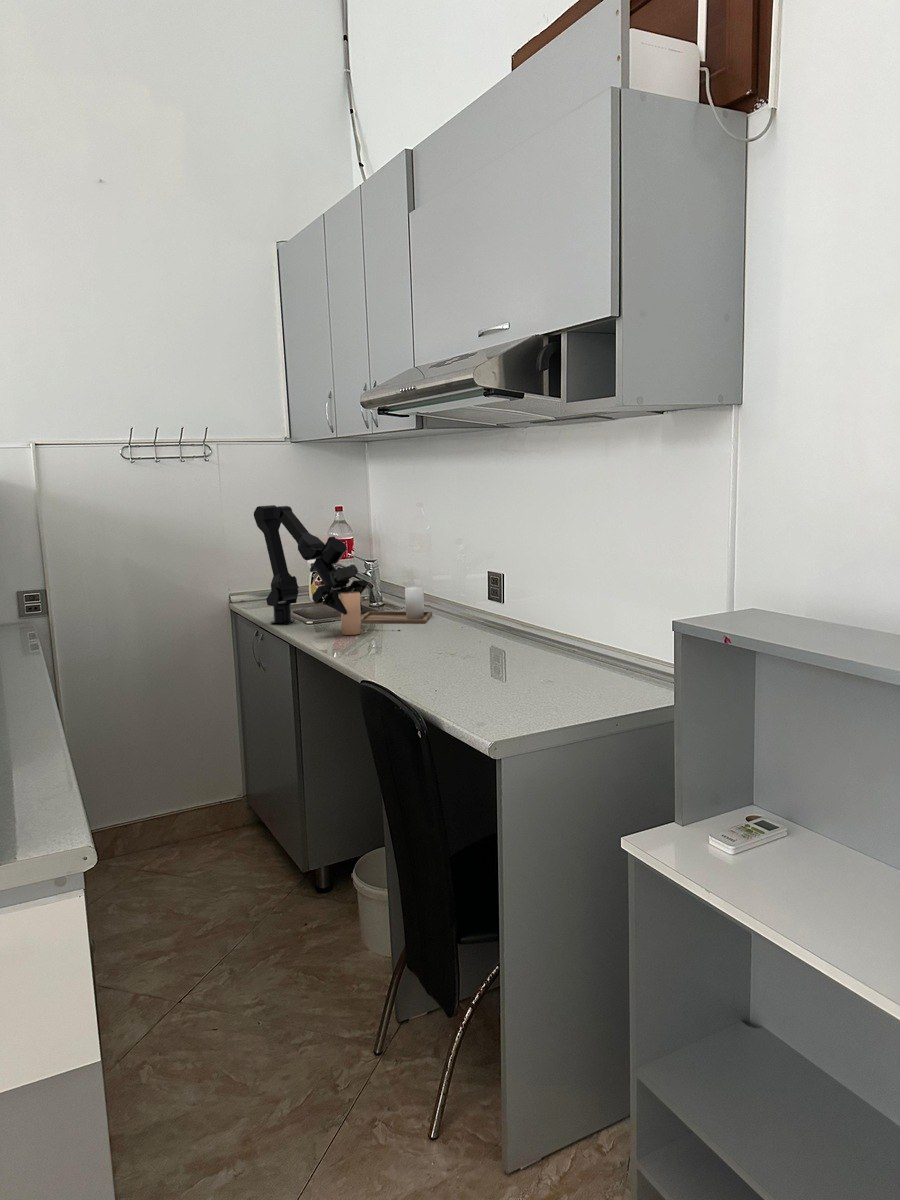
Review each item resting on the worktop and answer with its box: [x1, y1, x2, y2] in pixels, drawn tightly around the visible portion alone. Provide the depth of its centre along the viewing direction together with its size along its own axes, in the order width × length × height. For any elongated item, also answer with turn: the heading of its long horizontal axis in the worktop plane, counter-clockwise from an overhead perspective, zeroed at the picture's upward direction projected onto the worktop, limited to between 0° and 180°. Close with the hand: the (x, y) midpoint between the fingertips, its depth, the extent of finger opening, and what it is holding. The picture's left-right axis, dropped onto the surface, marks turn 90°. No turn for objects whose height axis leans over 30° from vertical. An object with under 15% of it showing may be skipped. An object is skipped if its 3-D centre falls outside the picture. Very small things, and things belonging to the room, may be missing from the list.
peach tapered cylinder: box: [339, 591, 362, 636], centre depth 267 cm, size 6×6×12 cm
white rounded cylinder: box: [404, 585, 425, 619], centre depth 288 cm, size 6×6×10 cm
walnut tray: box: [361, 611, 433, 625], centre depth 287 cm, size 16×22×2 cm
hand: (353, 612), depth 266 cm, fingers closed on peach tapered cylinder, 6 cm apart
